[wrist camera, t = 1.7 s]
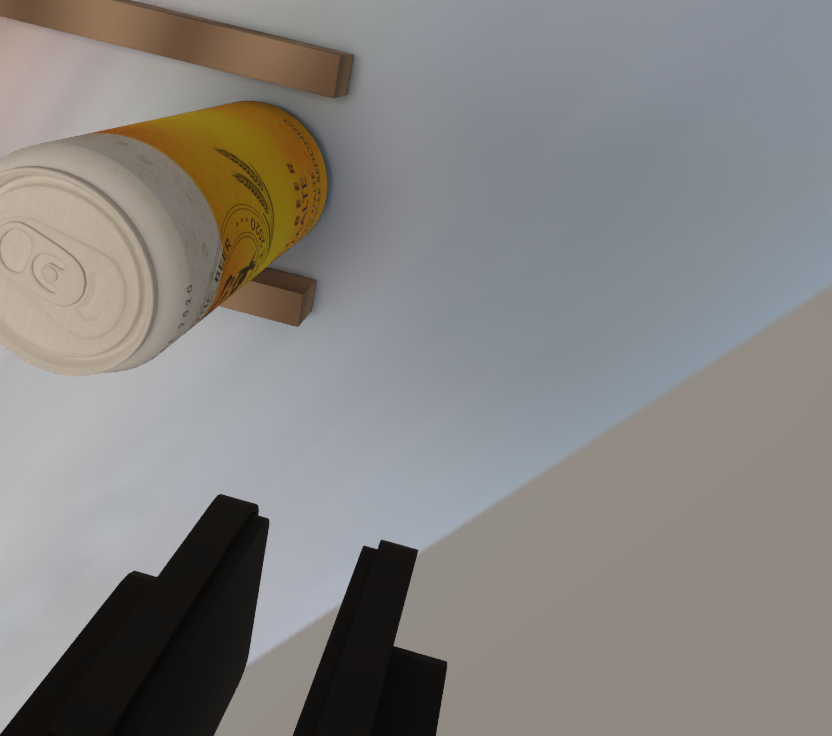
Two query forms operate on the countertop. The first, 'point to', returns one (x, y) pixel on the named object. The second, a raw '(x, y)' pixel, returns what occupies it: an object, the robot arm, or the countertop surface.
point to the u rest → (219, 49)
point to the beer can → (146, 230)
